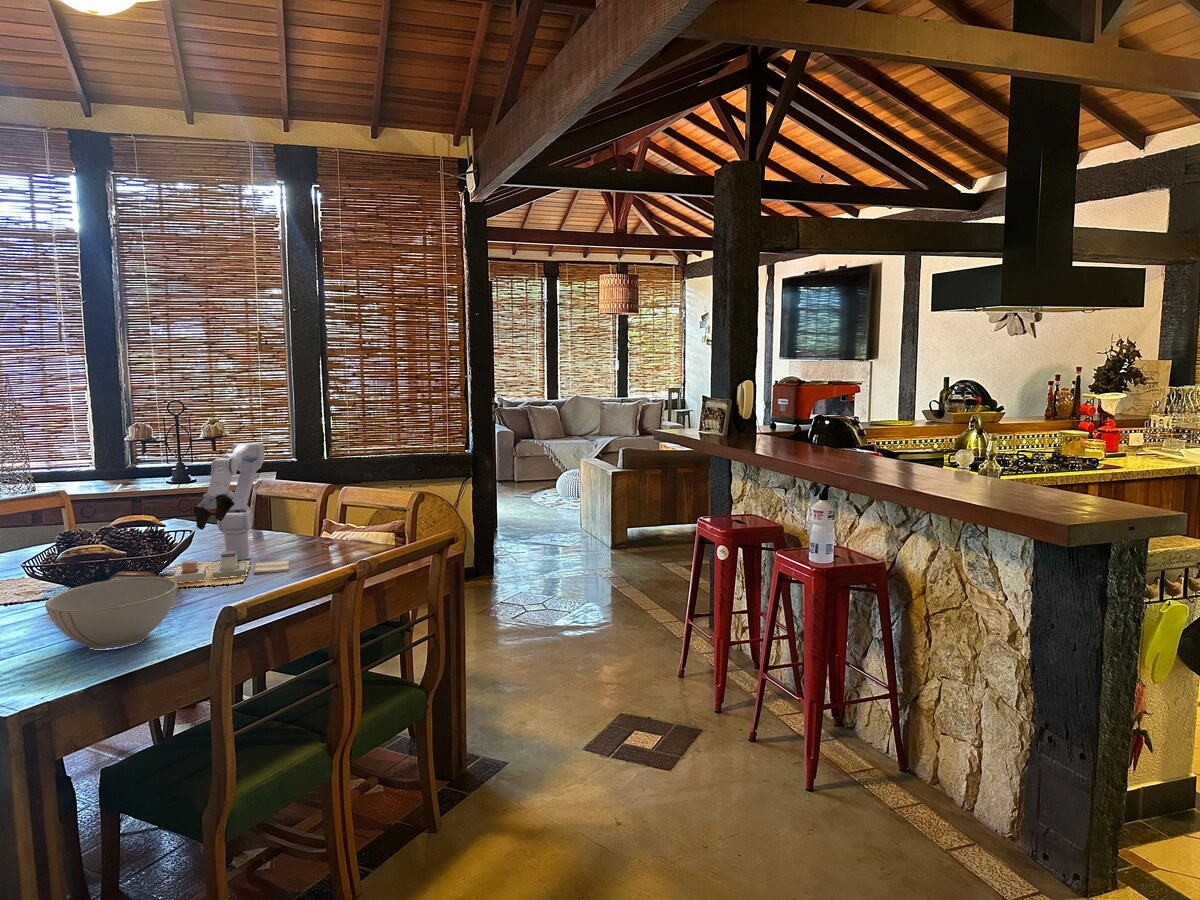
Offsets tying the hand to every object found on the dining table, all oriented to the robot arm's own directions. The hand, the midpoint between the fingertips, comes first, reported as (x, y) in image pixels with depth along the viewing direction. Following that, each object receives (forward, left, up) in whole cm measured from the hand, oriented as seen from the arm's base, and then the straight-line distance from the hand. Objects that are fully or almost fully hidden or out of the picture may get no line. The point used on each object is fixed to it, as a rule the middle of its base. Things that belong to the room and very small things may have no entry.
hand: (209, 523), depth 242 cm
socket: (-1, +5, -17) cm, 17 cm away
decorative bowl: (+53, -16, -17) cm, 58 cm away
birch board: (-3, +17, -17) cm, 24 cm away
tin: (+18, -18, -17) cm, 31 cm away
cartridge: (-1, +5, -17) cm, 17 cm away
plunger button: (0, -6, -14) cm, 16 cm away
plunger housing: (0, -6, -17) cm, 18 cm away
